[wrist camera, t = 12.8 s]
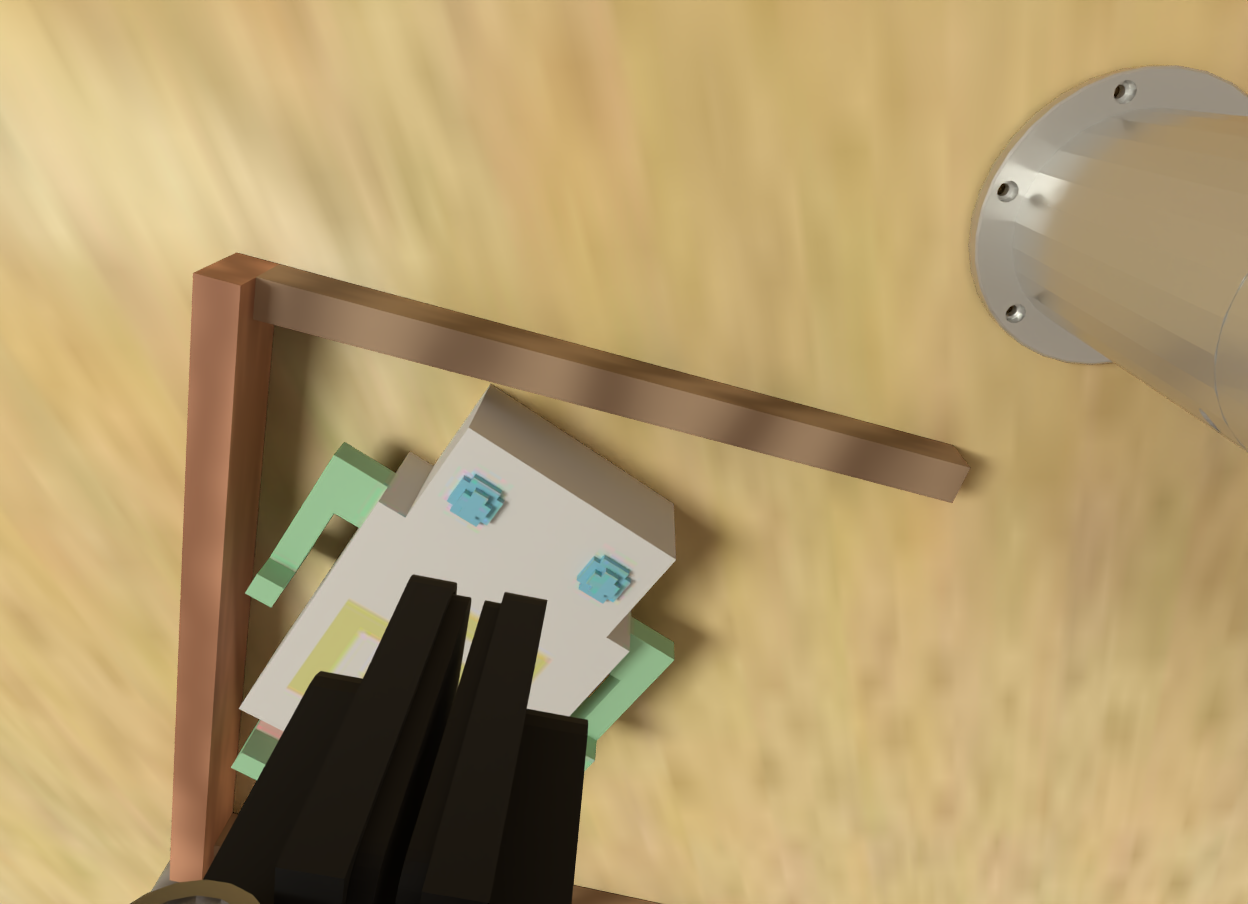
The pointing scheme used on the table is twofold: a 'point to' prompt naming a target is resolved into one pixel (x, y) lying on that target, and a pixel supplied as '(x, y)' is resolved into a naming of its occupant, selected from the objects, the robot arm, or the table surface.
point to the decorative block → (478, 565)
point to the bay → (321, 306)
